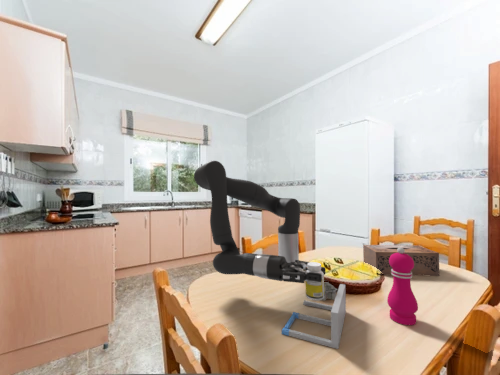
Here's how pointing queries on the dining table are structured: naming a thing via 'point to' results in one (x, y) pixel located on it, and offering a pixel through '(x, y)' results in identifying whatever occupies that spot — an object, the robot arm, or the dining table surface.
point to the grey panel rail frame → (322, 320)
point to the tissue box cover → (422, 257)
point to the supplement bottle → (315, 283)
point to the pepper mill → (402, 289)
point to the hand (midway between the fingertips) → (323, 274)
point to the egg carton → (329, 291)
